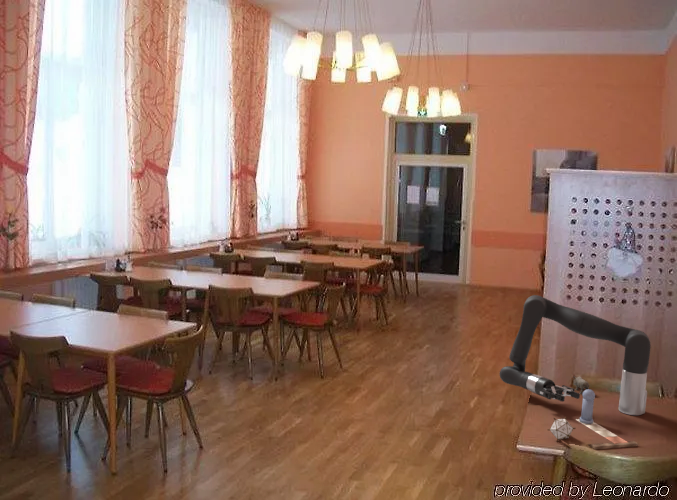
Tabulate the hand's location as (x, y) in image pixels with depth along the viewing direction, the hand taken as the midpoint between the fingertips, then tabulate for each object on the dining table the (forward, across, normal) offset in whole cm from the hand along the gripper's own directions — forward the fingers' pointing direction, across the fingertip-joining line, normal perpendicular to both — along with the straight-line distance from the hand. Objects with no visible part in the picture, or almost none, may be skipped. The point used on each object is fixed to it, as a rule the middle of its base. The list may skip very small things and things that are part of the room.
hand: (571, 397), depth 284 cm
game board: (+16, -5, +8) cm, 19 cm away
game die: (+15, -22, +8) cm, 27 cm away
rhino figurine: (-23, +32, +8) cm, 40 cm away
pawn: (+8, 0, +7) cm, 11 cm away
